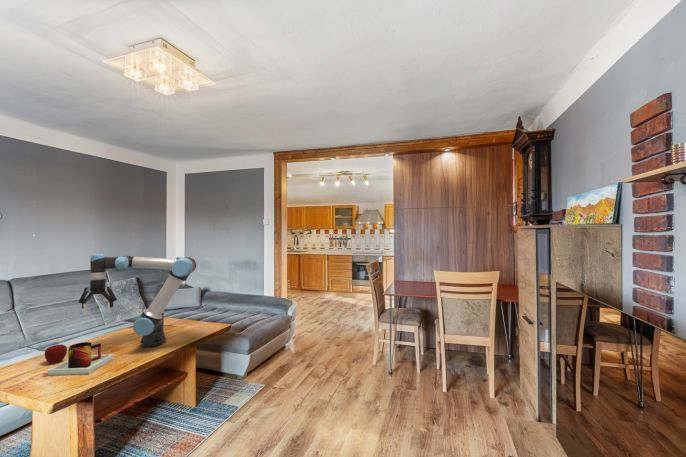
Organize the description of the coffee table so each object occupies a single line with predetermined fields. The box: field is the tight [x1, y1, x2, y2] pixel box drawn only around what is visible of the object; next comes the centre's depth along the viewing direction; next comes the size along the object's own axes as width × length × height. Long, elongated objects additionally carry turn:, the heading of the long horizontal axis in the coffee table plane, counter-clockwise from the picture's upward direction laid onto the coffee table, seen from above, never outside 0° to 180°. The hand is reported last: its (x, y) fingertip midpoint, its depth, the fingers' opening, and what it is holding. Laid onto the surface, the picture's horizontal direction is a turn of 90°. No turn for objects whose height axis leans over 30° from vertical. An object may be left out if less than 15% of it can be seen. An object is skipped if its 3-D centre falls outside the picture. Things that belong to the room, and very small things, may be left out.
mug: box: [67, 341, 102, 368], centre depth 172 cm, size 10×14×12 cm
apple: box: [44, 344, 68, 364], centre depth 178 cm, size 10×10×10 cm
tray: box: [47, 354, 115, 377], centre depth 171 cm, size 20×20×3 cm
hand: (97, 313), depth 191 cm, fingers open, 13 cm apart
